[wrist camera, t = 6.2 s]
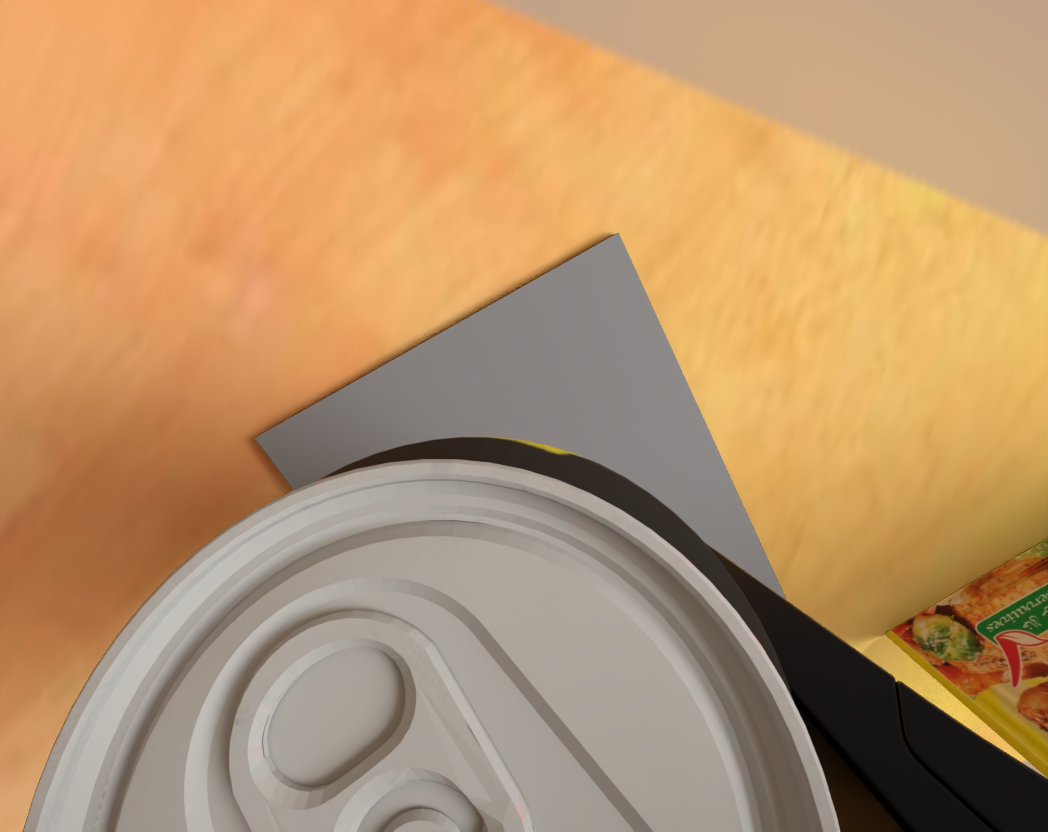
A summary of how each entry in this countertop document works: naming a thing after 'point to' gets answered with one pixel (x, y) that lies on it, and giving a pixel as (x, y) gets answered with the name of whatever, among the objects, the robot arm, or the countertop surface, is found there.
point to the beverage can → (442, 668)
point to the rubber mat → (544, 398)
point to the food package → (993, 650)
